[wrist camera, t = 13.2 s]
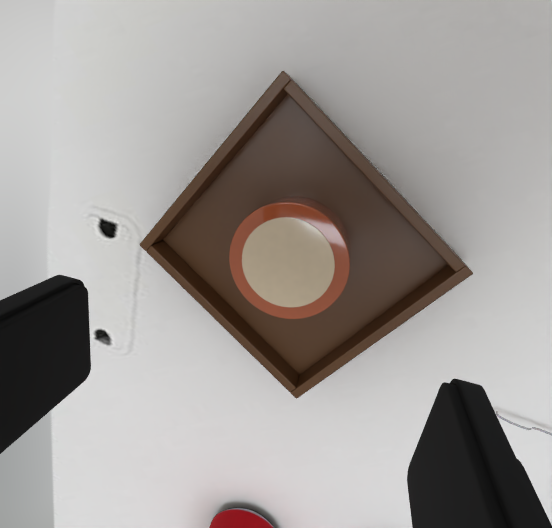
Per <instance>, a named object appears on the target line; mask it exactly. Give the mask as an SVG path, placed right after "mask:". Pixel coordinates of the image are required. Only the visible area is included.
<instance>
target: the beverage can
mask: <svg viewBox="0 0 552 528" xmlns="http://www.w3.org/2000/svg"><path fill="white" fill-rule="evenodd" d="M209 528H274V527H273V526H272V525H271V524H270V523H269V522H268V521H267V520H266V519H265V518H264V517H263V516H262V515H260V514H258V513H257V512H254V511H252V510H249V509H244V508H232V509H228V510H224V511H222V512H220V513H218V514H217V515H216V516H215V517H214V518H213V520H212V522H211V525H210V527H209Z"/></svg>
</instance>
